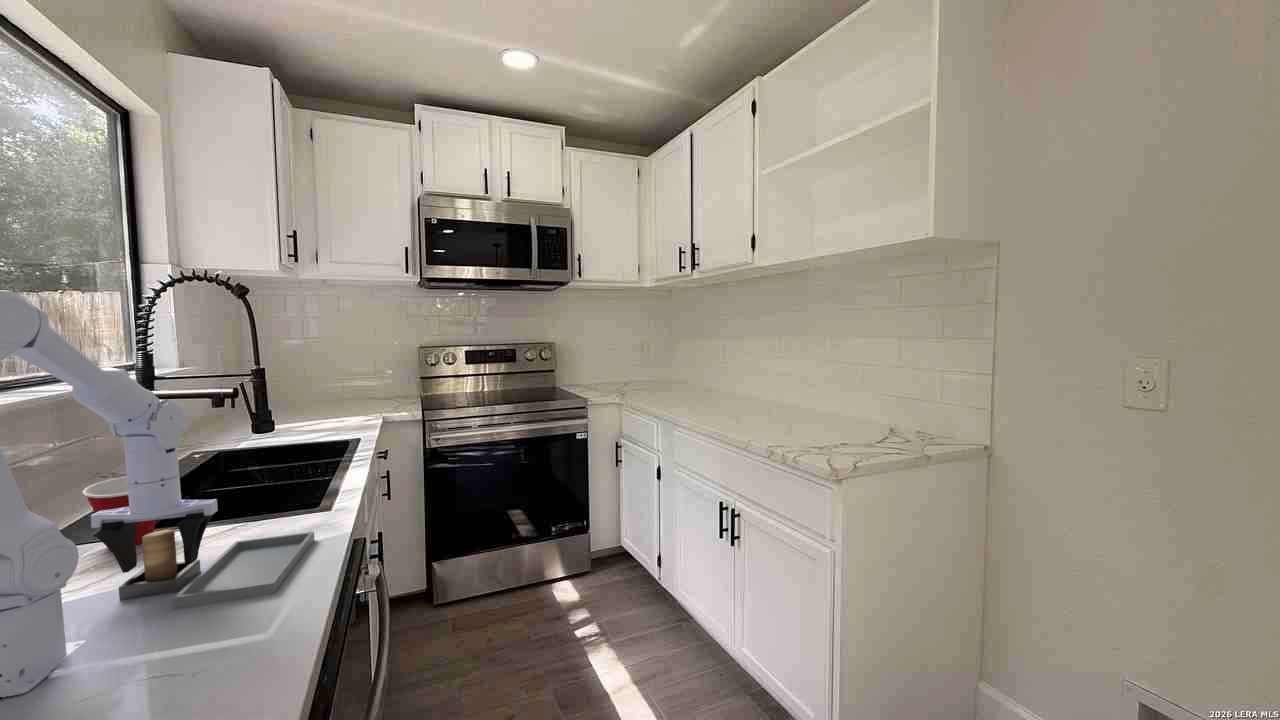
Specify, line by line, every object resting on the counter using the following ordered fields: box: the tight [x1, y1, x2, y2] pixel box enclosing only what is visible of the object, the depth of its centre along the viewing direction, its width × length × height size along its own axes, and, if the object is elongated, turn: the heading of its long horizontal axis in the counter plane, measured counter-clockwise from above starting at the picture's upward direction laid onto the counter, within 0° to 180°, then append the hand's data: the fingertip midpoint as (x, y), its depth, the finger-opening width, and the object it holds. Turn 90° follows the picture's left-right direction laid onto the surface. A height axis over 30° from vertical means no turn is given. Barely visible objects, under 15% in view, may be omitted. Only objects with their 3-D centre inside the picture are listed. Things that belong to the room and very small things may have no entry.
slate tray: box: [172, 531, 315, 610], centre depth 82 cm, size 20×12×2 cm, turn 18°
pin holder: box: [118, 559, 201, 602], centre depth 78 cm, size 7×7×3 cm
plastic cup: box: [81, 475, 157, 550], centre depth 94 cm, size 11×11×12 cm
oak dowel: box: [141, 529, 178, 581], centre depth 77 cm, size 4×4×8 cm
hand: (161, 565), depth 78 cm, fingers open, 7 cm apart
